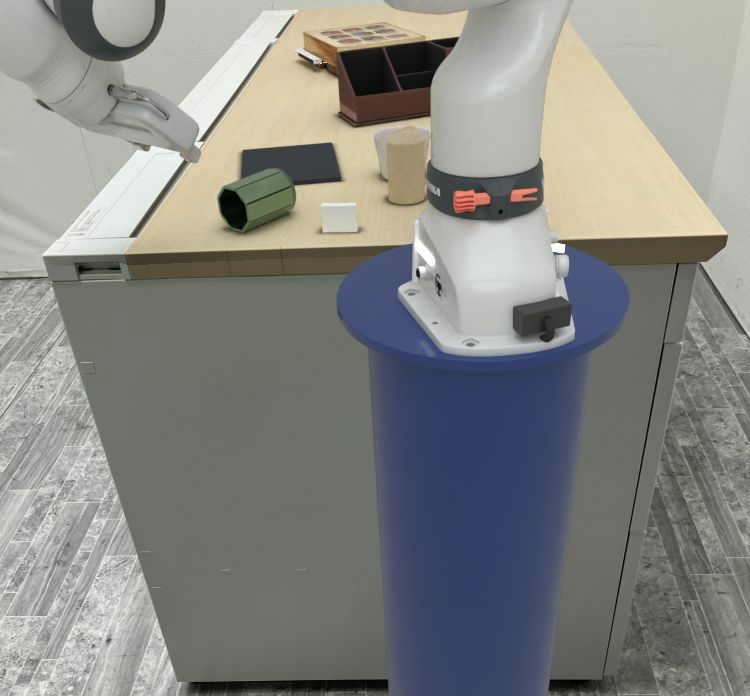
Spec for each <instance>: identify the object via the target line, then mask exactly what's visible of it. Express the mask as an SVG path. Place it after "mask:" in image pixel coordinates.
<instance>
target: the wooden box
mask: <svg viewBox="0 0 750 696" xmlns="http://www.w3.org/2000/svg"><path fill="white" fill-rule="evenodd" d="M302 35H303V36H302V37H303V46H302V48H296V49H293V54H294V55H296V56H298V57H300V59H301V58H302V59H304V60H305V61H307V62H308V63H310V64H312V65H316V66H318V67H319V68H323V67H325V66H326V68H327V69H328V70H329V72H330V73H333V74H335V75H336V76H338V74H337V60H336V52H340V51H347V50H354V49H362V48H371V47H379V46H387V45H395V44H403V43H411V42H419V41H427V36H425V35H422V34H420V33H418V32H417V33H416V32H414V31H411V30H407V29H405V28H402V27H400V26H397V25H394V24H391V23H388V22H386V21H381V22H375V23H366V24H357V25H349V26H342V27H332V28H325V29H317V30H309V31H303V32H302ZM323 62H327V63H323ZM320 63H322V64H320Z"/></svg>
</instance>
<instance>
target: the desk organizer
mask: <svg viewBox="0 0 750 696" xmlns="http://www.w3.org/2000/svg"><path fill="white" fill-rule="evenodd" d="M459 37H460V35H459V36H452V37H451V36H450V37H445V38H444V37H442V38H435V39H428V40H427V39H426V41H419V42H411V43H403V44H395V45H387V46H379V47H371V48H362V49H354V50H347V51H340V52H336V60H337V74H338V75H337V85H338V87H337V88H338V99H339V100H338V101H339V111H337V115H338V116H340V117H341V118H342V119H344V120H346V121H347V122H349V124H351V125H352V126H354V127H355V128H356V127H362V126H368V125H369V126H370V125H376V124H382V123H388V122H394V121H395V122H396V121H401V120H407V119H414V118H420V117H421V118H422V117H427V116H431V85H432V80H433V77H434V75H435V73H436V71H437V69H438V68H439V66H440V65H441V63H442V62H443V61H444V60H445V59H446V58H447V56H448V55H449V54H450V53H451V51H452V50H453V48H454V47H455V45H456V43H457V41H458V39H459Z"/></svg>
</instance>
